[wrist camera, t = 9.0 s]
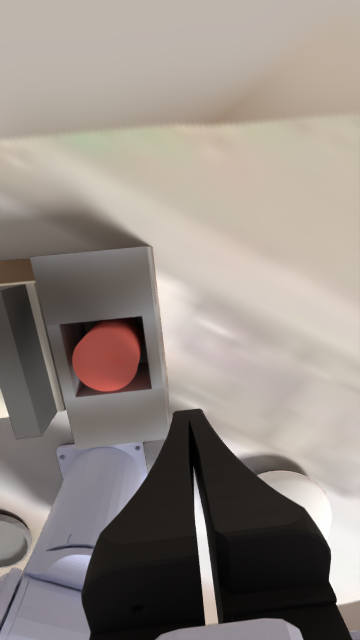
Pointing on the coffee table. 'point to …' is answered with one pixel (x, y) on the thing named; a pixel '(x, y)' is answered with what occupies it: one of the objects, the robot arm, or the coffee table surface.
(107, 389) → the button
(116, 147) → the coffee table surface
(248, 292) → the coffee table surface
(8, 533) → the pocket watch
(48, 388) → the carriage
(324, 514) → the flower in vase
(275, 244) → the coffee table surface
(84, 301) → the rail board
